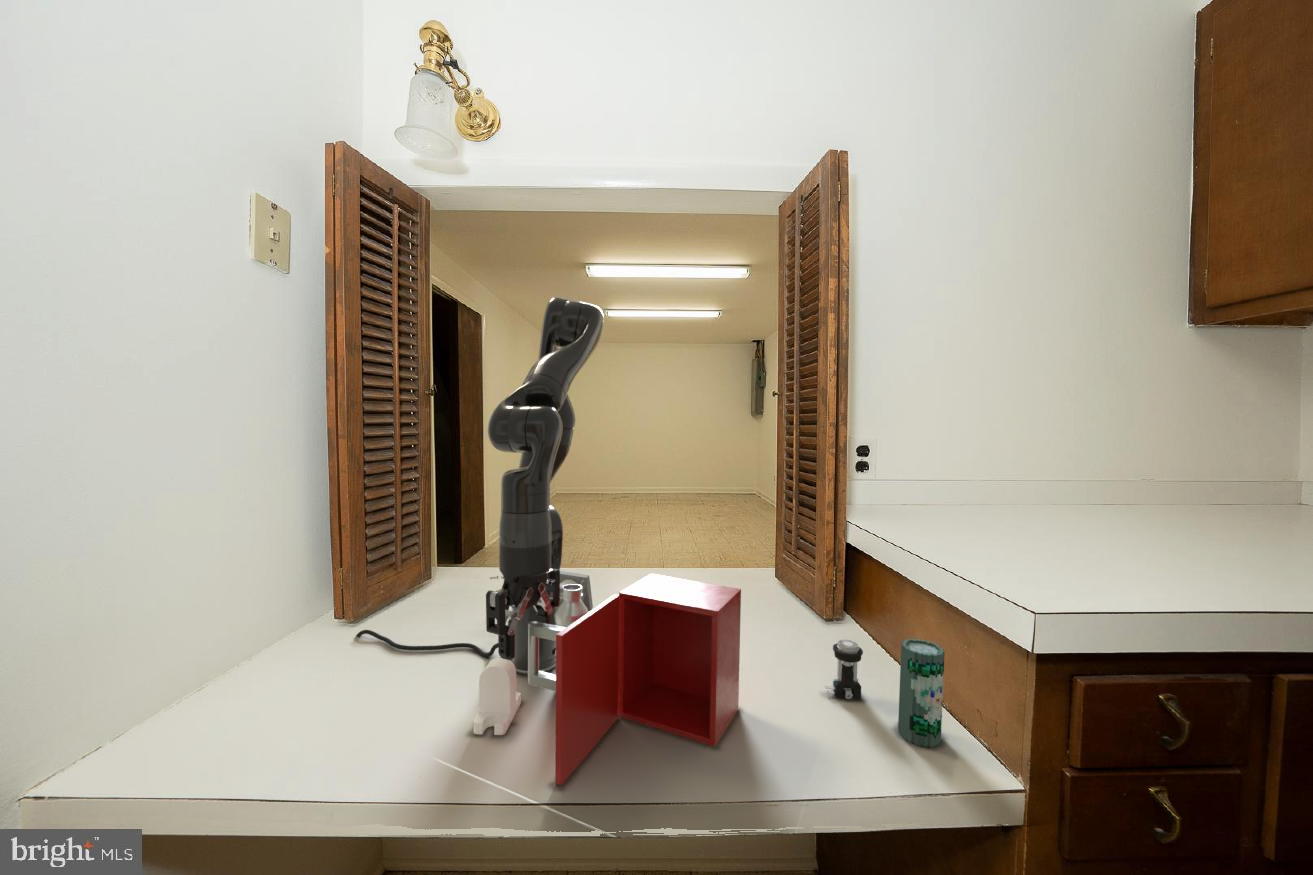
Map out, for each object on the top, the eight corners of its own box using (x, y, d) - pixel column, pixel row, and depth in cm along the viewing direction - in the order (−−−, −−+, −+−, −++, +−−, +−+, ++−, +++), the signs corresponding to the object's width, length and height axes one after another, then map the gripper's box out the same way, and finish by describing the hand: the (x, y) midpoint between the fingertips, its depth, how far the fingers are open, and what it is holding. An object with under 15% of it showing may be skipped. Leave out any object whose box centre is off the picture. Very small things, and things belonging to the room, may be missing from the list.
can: (921, 750, 84) (925, 658, 83) (890, 728, 90) (894, 642, 89) (948, 741, 87) (952, 651, 86) (916, 720, 92) (920, 636, 91)
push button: (828, 702, 98) (830, 649, 97) (821, 687, 103) (822, 636, 103) (865, 703, 97) (867, 650, 97) (855, 688, 103) (857, 638, 102)
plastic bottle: (573, 704, 96) (574, 595, 95) (546, 693, 99) (546, 588, 98) (596, 688, 101) (597, 585, 100) (569, 678, 105) (570, 579, 104)
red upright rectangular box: (715, 747, 84) (717, 611, 83) (617, 716, 92) (619, 592, 91) (738, 709, 95) (741, 588, 94) (649, 684, 103) (651, 573, 102)
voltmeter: (590, 602, 147) (591, 566, 146) (595, 618, 136) (595, 580, 135) (491, 608, 141) (491, 572, 141) (487, 625, 130) (486, 586, 129)
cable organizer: (472, 734, 86) (472, 674, 86) (492, 701, 96) (493, 647, 96) (504, 735, 86) (504, 675, 86) (521, 702, 96) (521, 648, 96)
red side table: (518, 771, 78) (518, 626, 76) (581, 708, 94) (582, 588, 93) (561, 786, 75) (562, 635, 74) (618, 718, 91) (619, 594, 90)
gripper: (511, 554, 71) (511, 674, 71) (574, 532, 83) (573, 635, 84) (470, 546, 74) (470, 662, 75) (537, 527, 87) (536, 625, 88)
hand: (525, 647), depth 80 cm, fingers open, 7 cm apart
